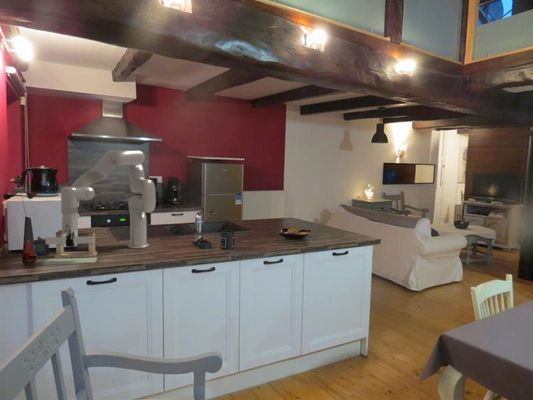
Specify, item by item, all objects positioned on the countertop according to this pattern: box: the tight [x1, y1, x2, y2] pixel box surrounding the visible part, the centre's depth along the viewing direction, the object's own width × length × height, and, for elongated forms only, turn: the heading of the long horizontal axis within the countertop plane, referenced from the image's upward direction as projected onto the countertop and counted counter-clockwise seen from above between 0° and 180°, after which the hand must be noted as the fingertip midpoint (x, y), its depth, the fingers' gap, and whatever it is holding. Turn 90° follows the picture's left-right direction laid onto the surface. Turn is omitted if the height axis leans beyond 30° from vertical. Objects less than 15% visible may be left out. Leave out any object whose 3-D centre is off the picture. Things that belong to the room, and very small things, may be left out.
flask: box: [33, 235, 50, 257], centre depth 201 cm, size 9×3×11 cm, turn 117°
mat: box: [41, 256, 98, 266], centre depth 192 cm, size 9×24×1 cm, turn 105°
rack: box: [54, 229, 98, 259], centre depth 203 cm, size 6×20×14 cm, turn 105°
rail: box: [45, 236, 94, 245], centre depth 191 cm, size 3×22×3 cm, turn 105°
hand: (70, 245), depth 191 cm, fingers closed on rail, 3 cm apart
